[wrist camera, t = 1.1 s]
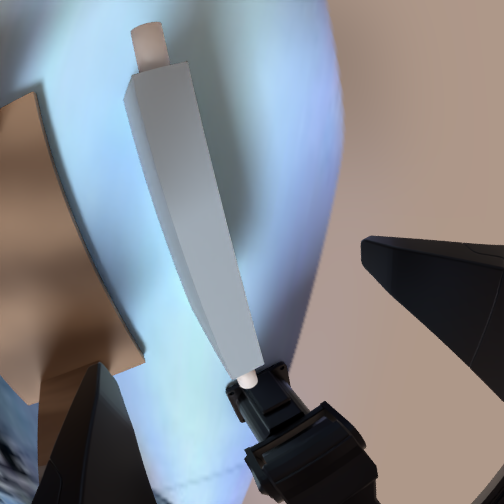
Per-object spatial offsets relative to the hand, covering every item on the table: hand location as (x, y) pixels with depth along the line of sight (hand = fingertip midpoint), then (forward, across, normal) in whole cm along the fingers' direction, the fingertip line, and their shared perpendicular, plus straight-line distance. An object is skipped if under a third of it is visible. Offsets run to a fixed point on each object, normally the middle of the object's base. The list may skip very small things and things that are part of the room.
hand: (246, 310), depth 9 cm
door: (+12, 0, 0) cm, 12 cm away
